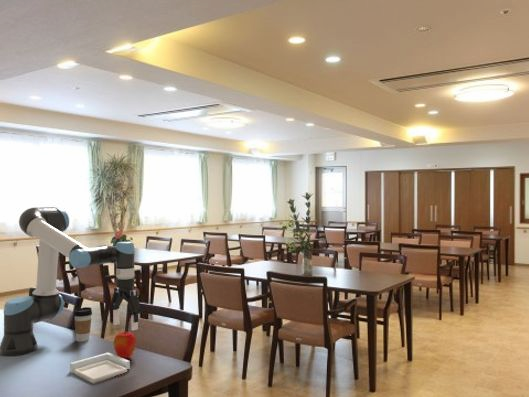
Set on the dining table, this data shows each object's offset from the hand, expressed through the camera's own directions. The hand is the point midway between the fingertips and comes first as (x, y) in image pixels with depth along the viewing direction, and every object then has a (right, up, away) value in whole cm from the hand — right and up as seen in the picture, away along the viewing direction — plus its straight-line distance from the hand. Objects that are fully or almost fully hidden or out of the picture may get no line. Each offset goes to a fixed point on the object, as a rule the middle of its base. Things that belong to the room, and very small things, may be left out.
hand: (125, 327), depth 198 cm
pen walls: (-6, -13, -14) cm, 20 cm away
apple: (0, -14, 0) cm, 14 cm away
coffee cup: (-29, -14, +26) cm, 41 cm away
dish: (-5, -13, -17) cm, 22 cm away
